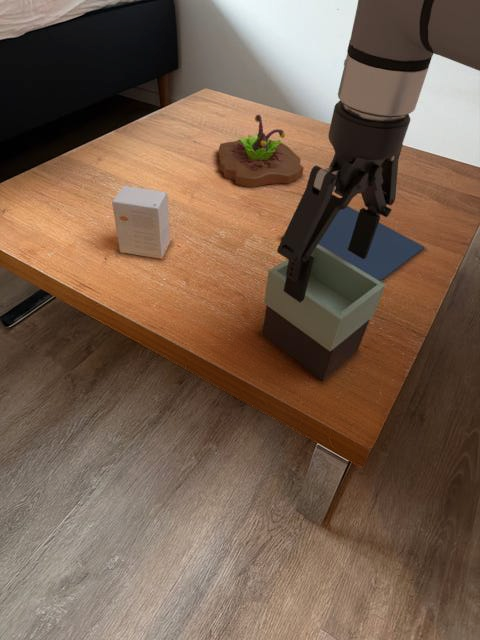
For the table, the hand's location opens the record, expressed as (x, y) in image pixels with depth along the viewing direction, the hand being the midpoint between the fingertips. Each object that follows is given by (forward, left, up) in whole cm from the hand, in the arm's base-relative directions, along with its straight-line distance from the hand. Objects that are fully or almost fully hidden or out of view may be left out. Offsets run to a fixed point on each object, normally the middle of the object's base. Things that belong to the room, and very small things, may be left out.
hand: (327, 273), depth 59 cm
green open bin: (0, 0, -7) cm, 7 cm away
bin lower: (0, 0, -14) cm, 14 cm away
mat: (+11, -27, -14) cm, 32 cm away
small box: (+35, +5, -14) cm, 38 cm away
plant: (+45, -35, -14) cm, 58 cm away
